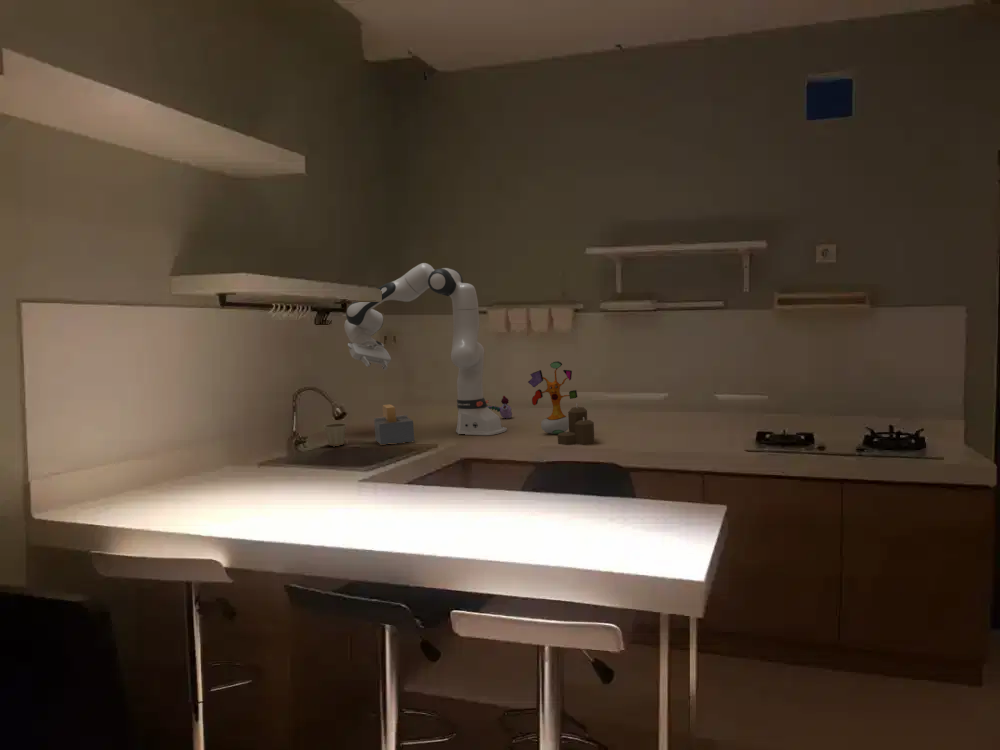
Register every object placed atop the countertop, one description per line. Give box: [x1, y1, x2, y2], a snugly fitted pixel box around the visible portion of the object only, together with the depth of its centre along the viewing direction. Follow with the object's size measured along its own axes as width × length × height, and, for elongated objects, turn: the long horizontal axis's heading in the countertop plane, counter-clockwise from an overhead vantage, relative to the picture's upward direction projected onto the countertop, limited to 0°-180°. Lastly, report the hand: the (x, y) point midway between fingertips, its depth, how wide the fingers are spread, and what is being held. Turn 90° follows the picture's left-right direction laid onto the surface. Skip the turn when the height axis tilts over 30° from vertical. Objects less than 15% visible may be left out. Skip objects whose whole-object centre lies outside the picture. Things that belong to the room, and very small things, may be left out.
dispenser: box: [373, 414, 415, 444], centre depth 349 cm, size 12×14×10 cm
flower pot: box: [323, 422, 347, 445], centre depth 348 cm, size 9×9×9 cm
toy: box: [487, 395, 513, 420], centre depth 394 cm, size 10×15×15 cm
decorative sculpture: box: [527, 360, 578, 435], centre depth 347 cm, size 20×8×30 cm, turn 76°
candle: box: [557, 402, 595, 446], centre depth 329 cm, size 14×14×15 cm
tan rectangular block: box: [382, 403, 397, 422], centre depth 357 cm, size 10×4×14 cm, turn 18°
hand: (377, 367), depth 362 cm, fingers open, 8 cm apart
